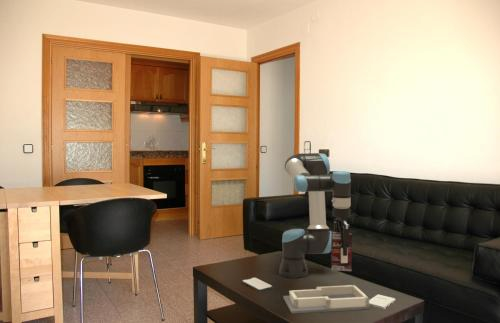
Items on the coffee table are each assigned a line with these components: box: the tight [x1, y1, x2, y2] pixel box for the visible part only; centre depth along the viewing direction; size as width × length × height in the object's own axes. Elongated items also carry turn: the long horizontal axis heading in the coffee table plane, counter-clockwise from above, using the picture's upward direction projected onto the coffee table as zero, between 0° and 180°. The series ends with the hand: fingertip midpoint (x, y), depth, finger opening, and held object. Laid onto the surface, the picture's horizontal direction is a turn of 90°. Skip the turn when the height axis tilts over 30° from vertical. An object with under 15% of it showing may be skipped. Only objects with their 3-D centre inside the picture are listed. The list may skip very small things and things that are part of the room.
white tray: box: [282, 284, 371, 314], centre depth 172 cm, size 17×33×4 cm, turn 97°
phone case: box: [241, 277, 274, 292], centre depth 195 cm, size 9×2×16 cm
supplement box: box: [330, 231, 353, 272], centre depth 172 cm, size 9×5×16 cm, turn 80°
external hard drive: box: [369, 294, 396, 310], centre depth 172 cm, size 2×8×12 cm
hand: (341, 260), depth 172 cm, fingers closed on supplement box, 6 cm apart
